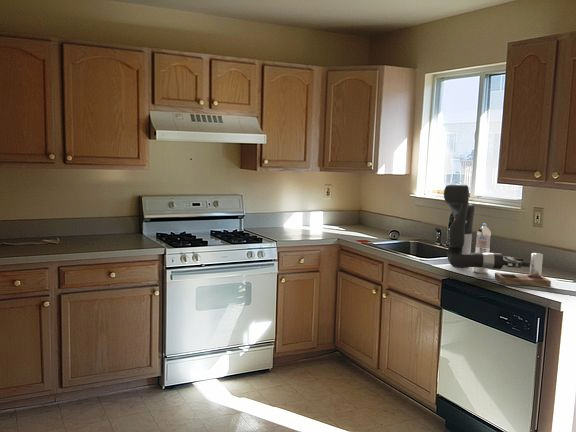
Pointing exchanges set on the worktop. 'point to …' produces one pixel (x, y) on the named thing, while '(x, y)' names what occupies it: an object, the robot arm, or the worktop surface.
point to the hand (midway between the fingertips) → (526, 262)
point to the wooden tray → (521, 279)
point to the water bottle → (482, 245)
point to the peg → (536, 265)
